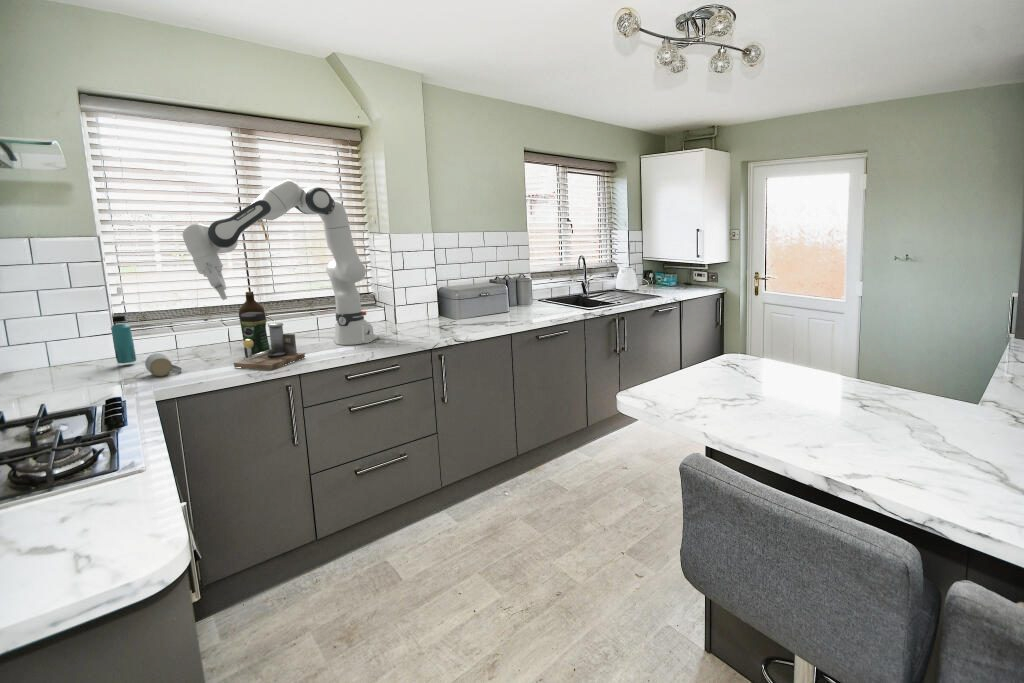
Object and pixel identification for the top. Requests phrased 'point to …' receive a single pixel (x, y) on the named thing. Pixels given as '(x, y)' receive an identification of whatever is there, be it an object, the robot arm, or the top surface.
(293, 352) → the stand
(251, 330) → the coffee jar
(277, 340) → the capstan
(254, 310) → the olive oil
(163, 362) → the ceramic mug
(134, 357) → the beverage bottle
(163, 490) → the top surface
